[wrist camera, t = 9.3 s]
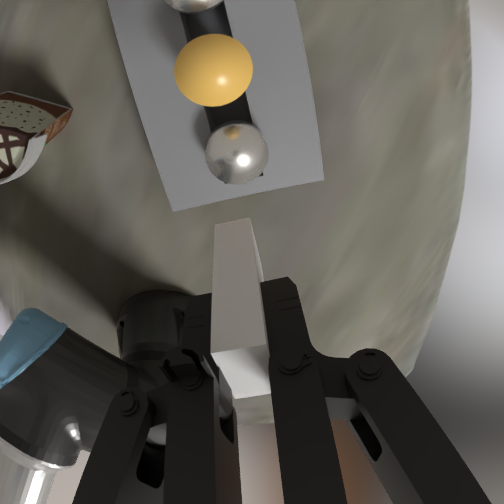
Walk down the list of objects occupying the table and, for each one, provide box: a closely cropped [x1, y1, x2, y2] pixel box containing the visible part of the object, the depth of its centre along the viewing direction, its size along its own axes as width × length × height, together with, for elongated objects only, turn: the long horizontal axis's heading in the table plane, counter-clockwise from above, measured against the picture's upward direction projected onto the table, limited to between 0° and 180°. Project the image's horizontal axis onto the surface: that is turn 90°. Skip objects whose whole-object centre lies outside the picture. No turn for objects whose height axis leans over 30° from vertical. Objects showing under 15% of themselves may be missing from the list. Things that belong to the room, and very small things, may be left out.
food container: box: [0, 91, 73, 184], centre depth 22 cm, size 12×6×10 cm, turn 64°
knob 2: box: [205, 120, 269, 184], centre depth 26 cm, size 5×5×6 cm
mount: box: [107, 0, 324, 212], centre depth 23 cm, size 15×23×6 cm, turn 12°
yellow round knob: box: [174, 34, 253, 107], centre depth 19 cm, size 5×5×6 cm
